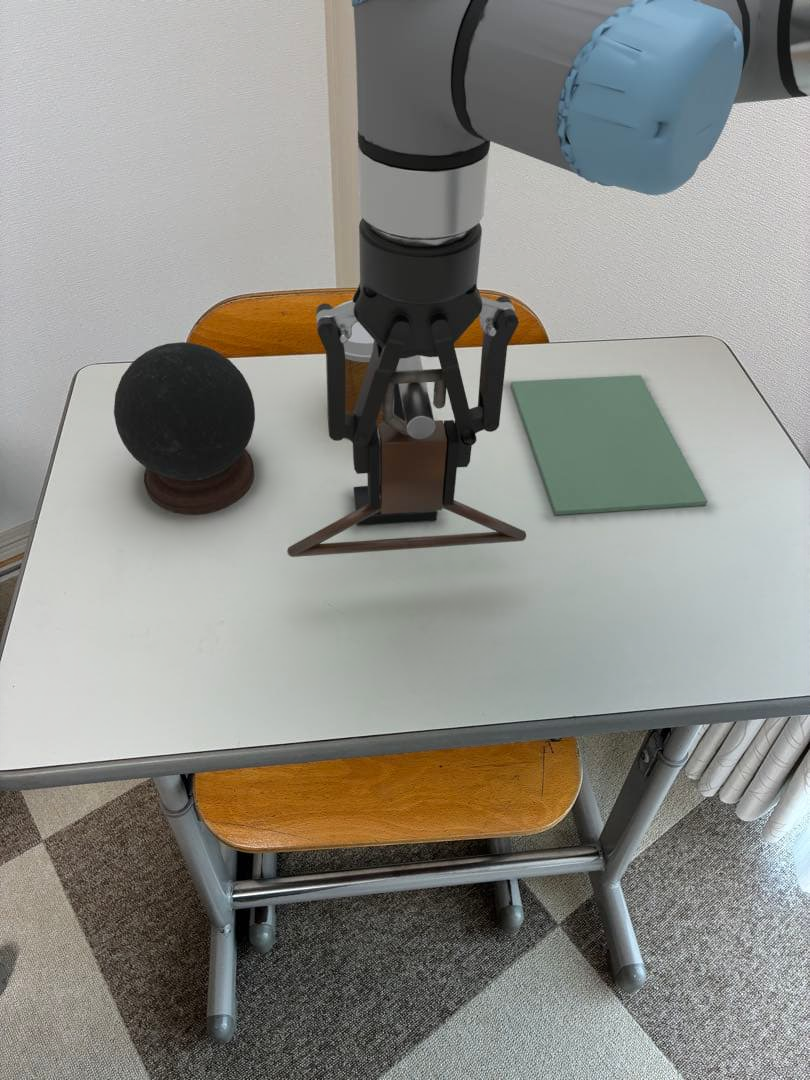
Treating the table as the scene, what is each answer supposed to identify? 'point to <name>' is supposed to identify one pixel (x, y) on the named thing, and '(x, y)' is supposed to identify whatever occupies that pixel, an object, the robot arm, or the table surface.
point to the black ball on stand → (187, 426)
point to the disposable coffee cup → (357, 365)
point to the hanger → (409, 485)
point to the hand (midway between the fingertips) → (410, 494)
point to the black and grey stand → (419, 425)
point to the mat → (604, 446)
